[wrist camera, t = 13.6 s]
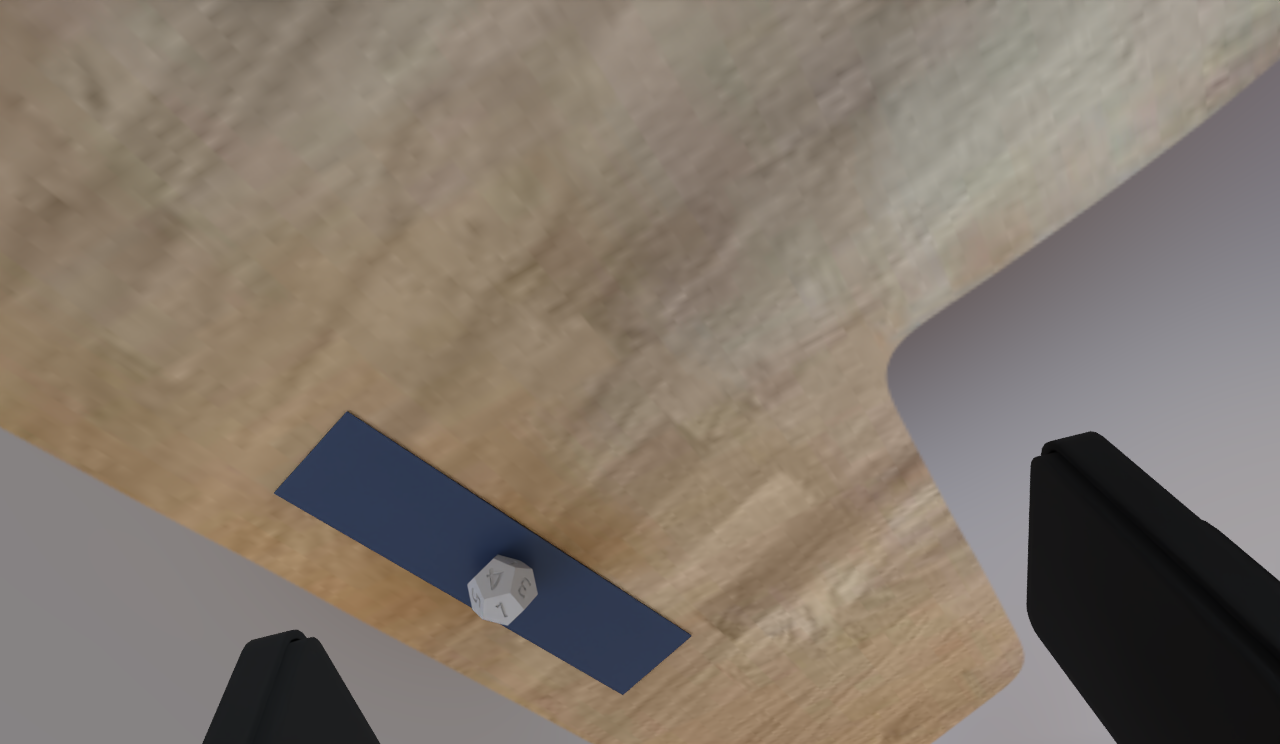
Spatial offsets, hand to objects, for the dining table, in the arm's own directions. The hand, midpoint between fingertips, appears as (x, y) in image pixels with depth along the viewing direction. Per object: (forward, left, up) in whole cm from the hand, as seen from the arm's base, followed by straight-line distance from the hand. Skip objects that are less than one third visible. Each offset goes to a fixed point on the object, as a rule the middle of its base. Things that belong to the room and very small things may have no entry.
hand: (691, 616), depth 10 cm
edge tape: (+9, +20, -27) cm, 35 cm away
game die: (+9, +20, -27) cm, 35 cm away
